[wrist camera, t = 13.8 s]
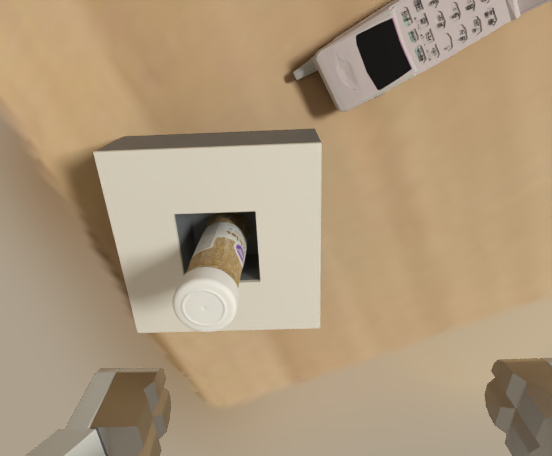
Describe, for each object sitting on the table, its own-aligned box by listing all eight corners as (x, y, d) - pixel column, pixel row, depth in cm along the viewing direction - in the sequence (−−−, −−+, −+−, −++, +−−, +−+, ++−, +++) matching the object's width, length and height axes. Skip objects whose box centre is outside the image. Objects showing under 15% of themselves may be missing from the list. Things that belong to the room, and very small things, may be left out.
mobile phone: (672, -53, 24) (326, 136, 30) (600, -32, 30) (319, 125, 35) (659, -161, 22) (290, 63, 27) (585, -116, 28) (288, 64, 33)
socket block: (123, 136, 35) (93, 152, 30) (314, 128, 35) (321, 143, 29) (157, 295, 43) (137, 332, 37) (314, 290, 42) (320, 328, 37)
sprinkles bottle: (259, 233, 38) (250, 315, 26) (224, 255, 39) (199, 344, 27) (232, 198, 37) (208, 269, 25) (196, 222, 38) (156, 301, 26)
